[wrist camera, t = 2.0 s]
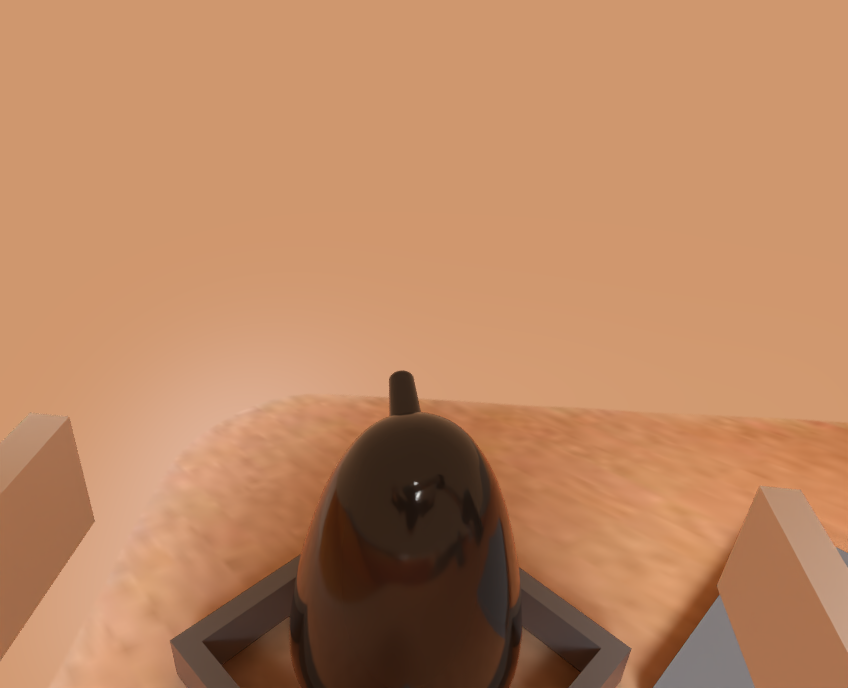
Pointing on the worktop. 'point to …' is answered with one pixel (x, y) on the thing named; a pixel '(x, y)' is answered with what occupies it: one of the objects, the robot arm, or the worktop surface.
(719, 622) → the slate-blue board
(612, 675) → the gray open frame
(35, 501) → the robot arm
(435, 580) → the dark brown egg shape
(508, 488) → the worktop surface
